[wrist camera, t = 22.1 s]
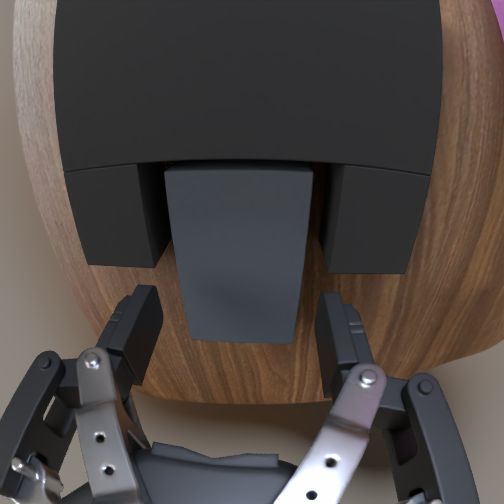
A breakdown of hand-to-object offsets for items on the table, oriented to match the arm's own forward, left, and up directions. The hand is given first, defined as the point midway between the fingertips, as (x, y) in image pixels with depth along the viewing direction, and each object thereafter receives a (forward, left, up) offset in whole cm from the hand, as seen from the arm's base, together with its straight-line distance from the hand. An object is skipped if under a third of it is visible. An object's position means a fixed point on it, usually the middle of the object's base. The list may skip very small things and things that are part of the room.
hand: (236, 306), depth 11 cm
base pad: (0, +8, -5) cm, 9 cm away
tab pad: (0, 0, -5) cm, 5 cm away
